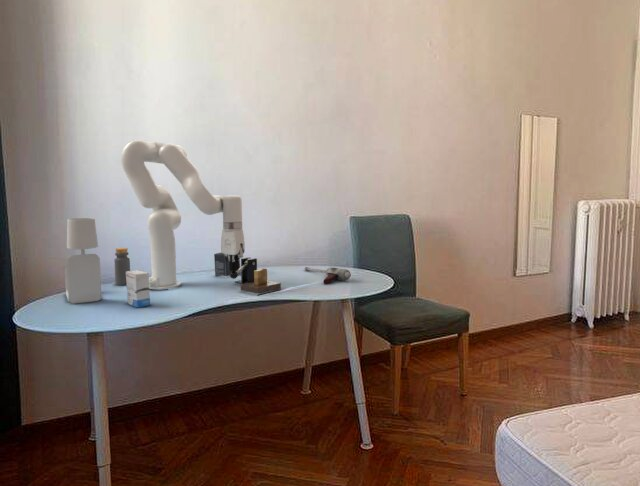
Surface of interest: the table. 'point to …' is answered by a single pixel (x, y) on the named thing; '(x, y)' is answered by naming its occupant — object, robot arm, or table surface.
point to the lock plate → (261, 287)
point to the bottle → (121, 266)
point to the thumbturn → (260, 276)
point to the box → (222, 265)
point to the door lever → (235, 273)
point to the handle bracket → (248, 270)
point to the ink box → (138, 288)
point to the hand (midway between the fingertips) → (234, 270)
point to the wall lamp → (82, 262)
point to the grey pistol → (333, 274)
